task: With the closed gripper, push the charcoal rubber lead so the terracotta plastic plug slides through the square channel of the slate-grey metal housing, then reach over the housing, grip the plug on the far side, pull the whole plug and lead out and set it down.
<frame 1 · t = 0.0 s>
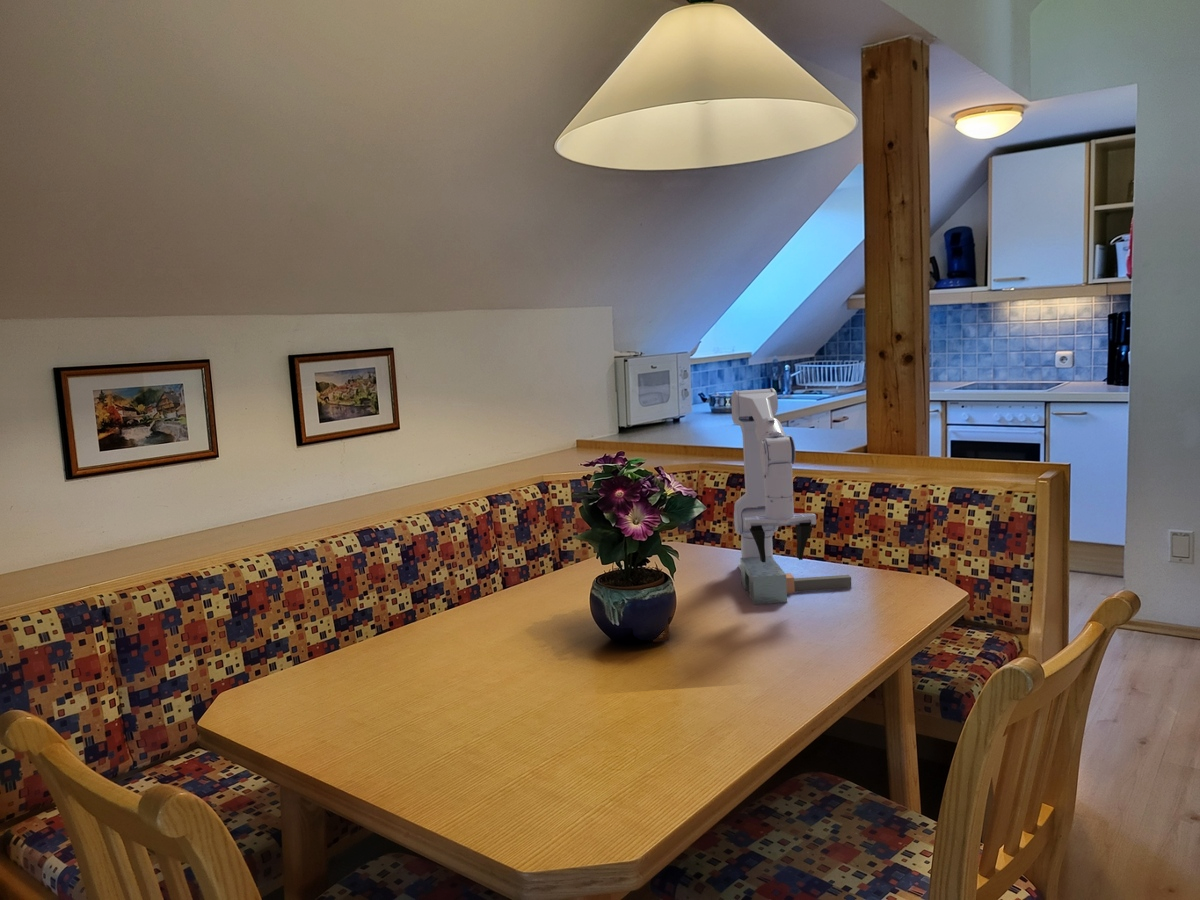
hand: (781, 559, 191), 10 cm above the table, tool pointing down, fingers open, 7 cm apart
housing: (763, 592, 203), on the table
plug: (781, 591, 203), on the table
food container: (643, 637, 180), on the table
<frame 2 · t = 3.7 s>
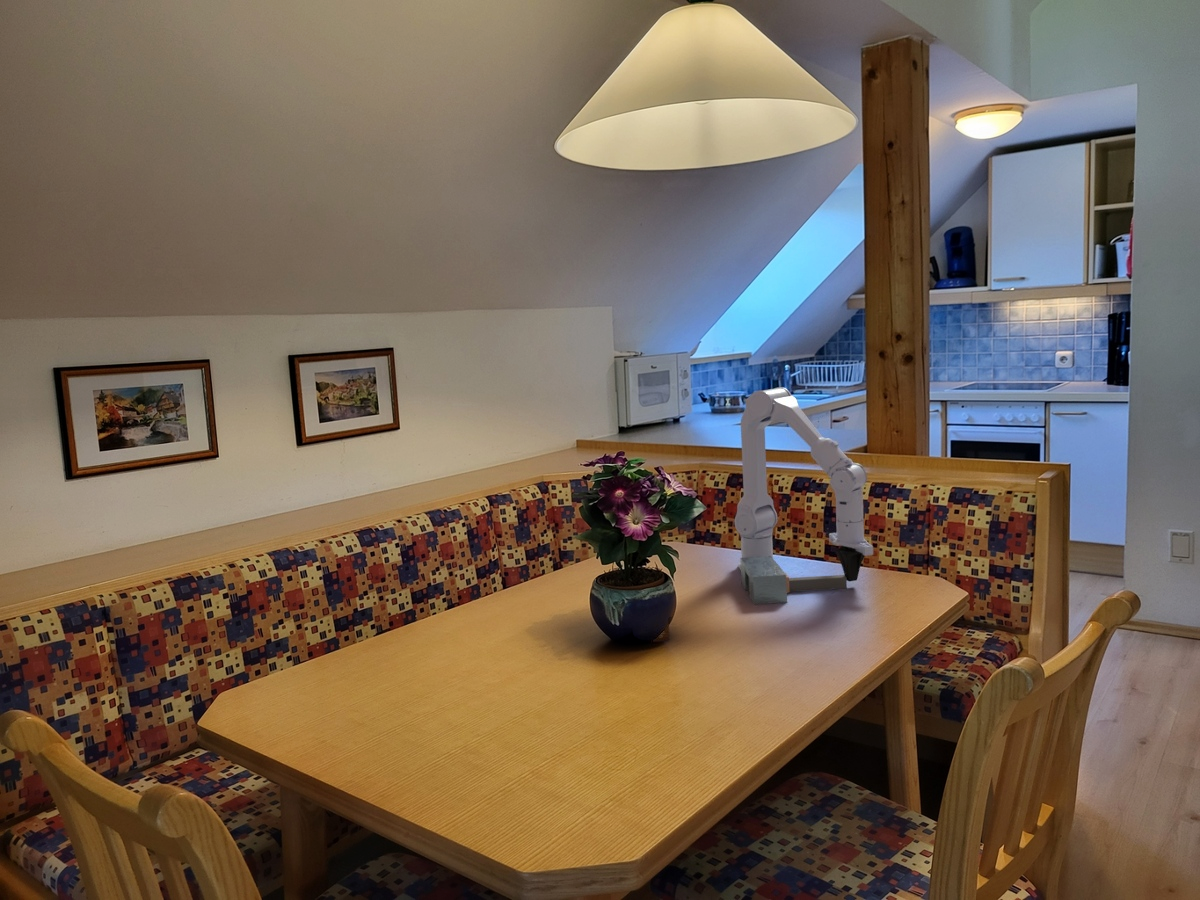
hand: (851, 580, 203), 1 cm above the table, tool pointing down, fingers closed
plug: (776, 591, 204), on the table, touching gripper
everything else where it was.
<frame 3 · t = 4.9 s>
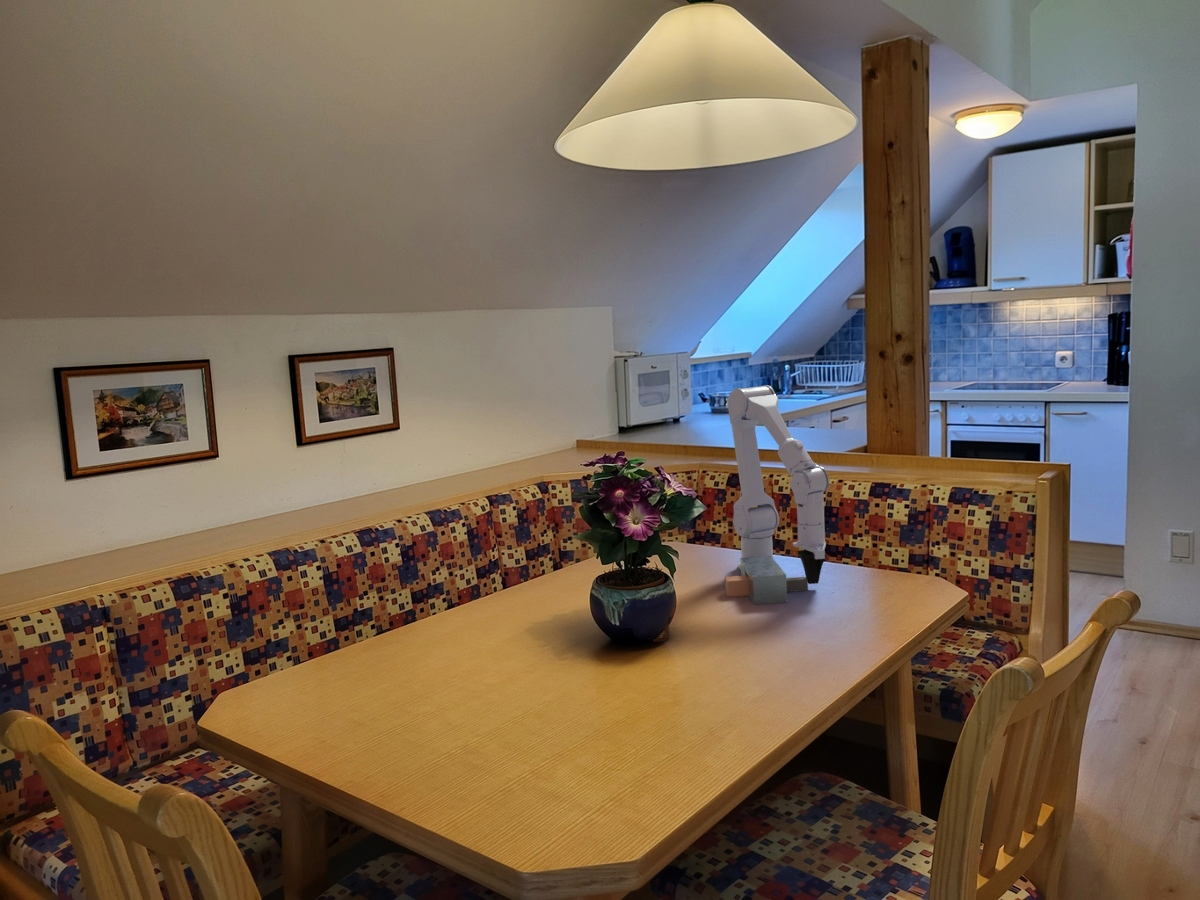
hand: (812, 582, 203), 1 cm above the table, tool pointing down, fingers closed, pressing on plug
plug: (738, 593, 204), on the table, touching gripper
everything else where it was.
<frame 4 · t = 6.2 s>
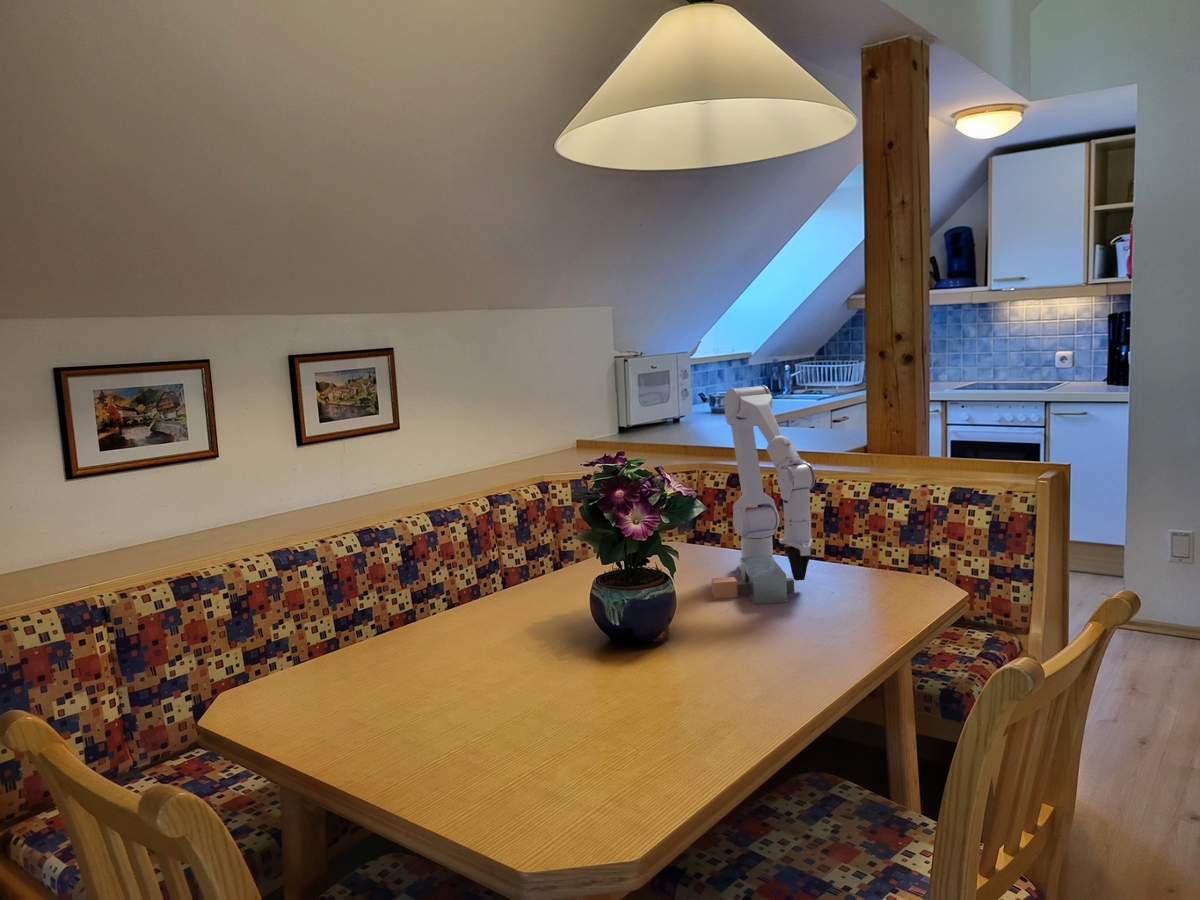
hand: (799, 579, 203), 2 cm above the table, tool pointing down, fingers closed
plug: (724, 595, 203), on the table
everything else where it was.
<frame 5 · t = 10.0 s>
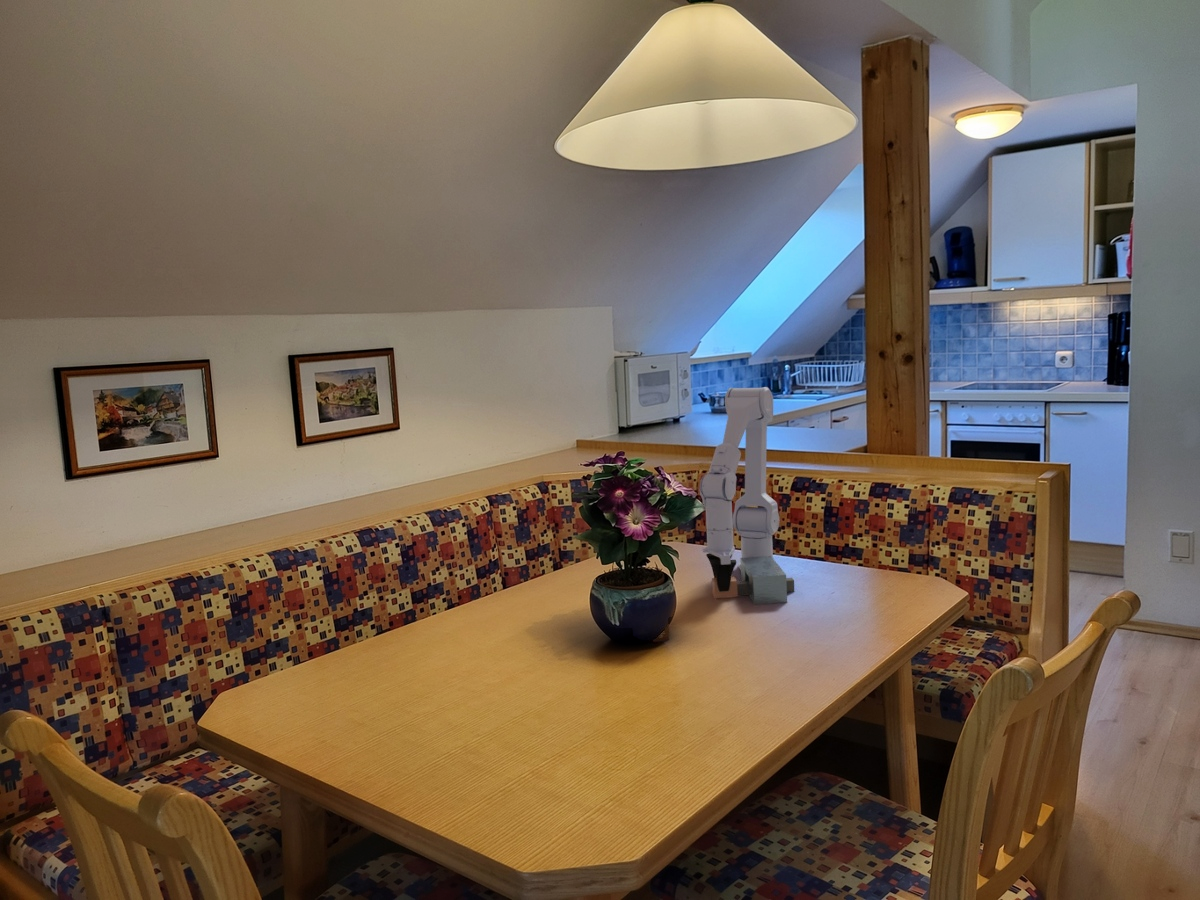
hand: (722, 588, 203), 2 cm above the table, tool pointing down, fingers closed on plug, 4 cm apart
plug: (724, 595, 203), on the table, touching gripper
everything else where it was.
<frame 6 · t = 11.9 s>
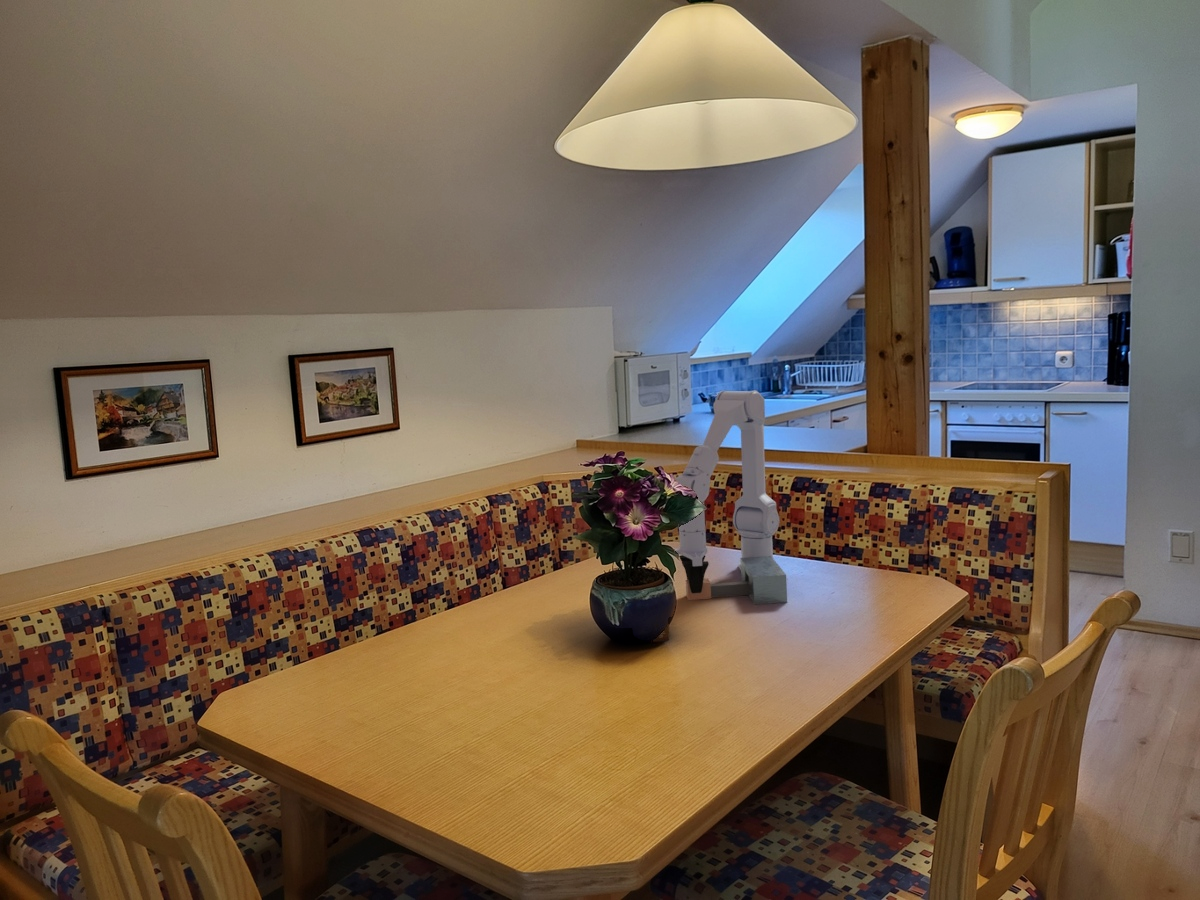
hand: (695, 589, 203), 2 cm above the table, tool pointing down, fingers closed on plug, 4 cm apart
plug: (698, 596, 203), on the table, touching gripper
everything else where it was.
when the fingers open (2 cm above the table, at t = 13.6 s): plug stays where it is, on the table.
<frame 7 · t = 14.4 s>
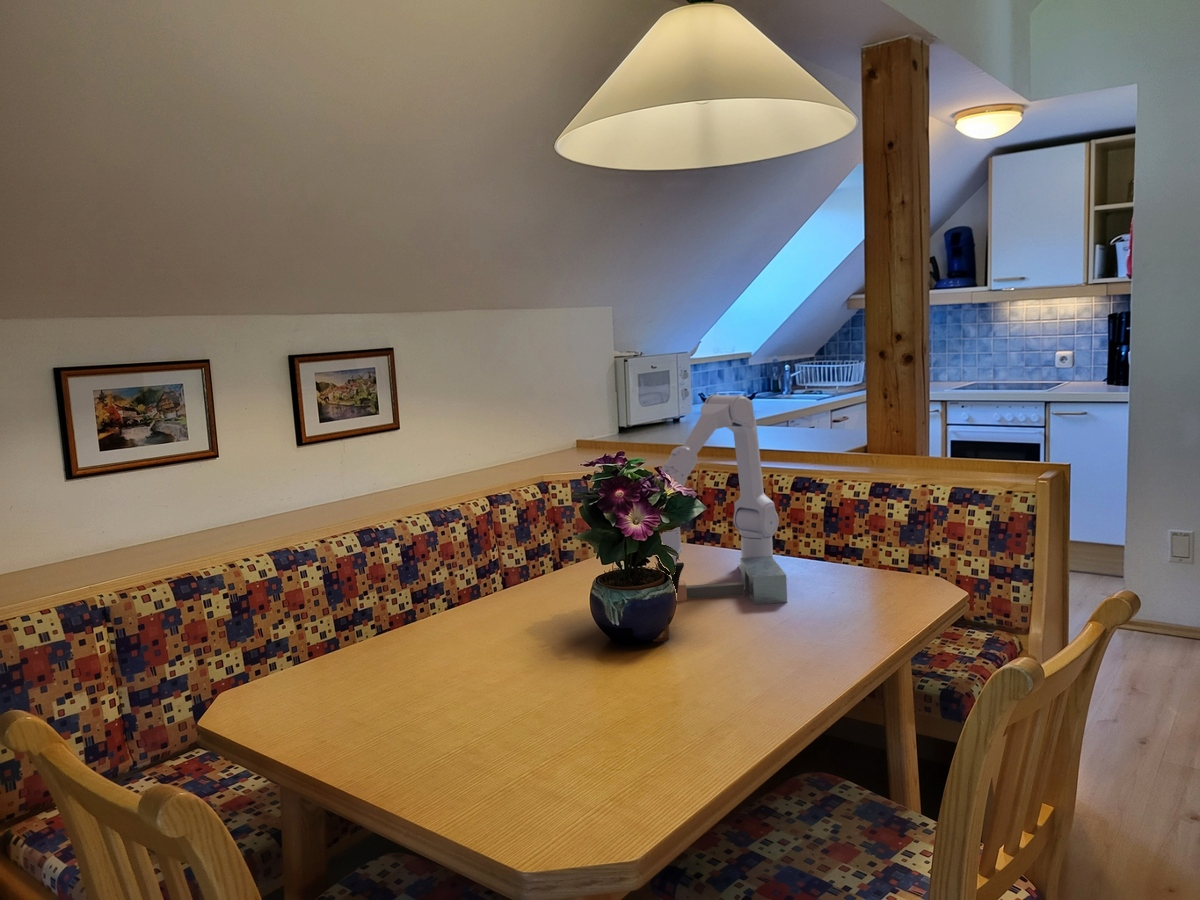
hand: (670, 589, 203), 2 cm above the table, tool pointing down, fingers open, 7 cm apart
plug: (674, 598, 203), on the table
everything else where it was.
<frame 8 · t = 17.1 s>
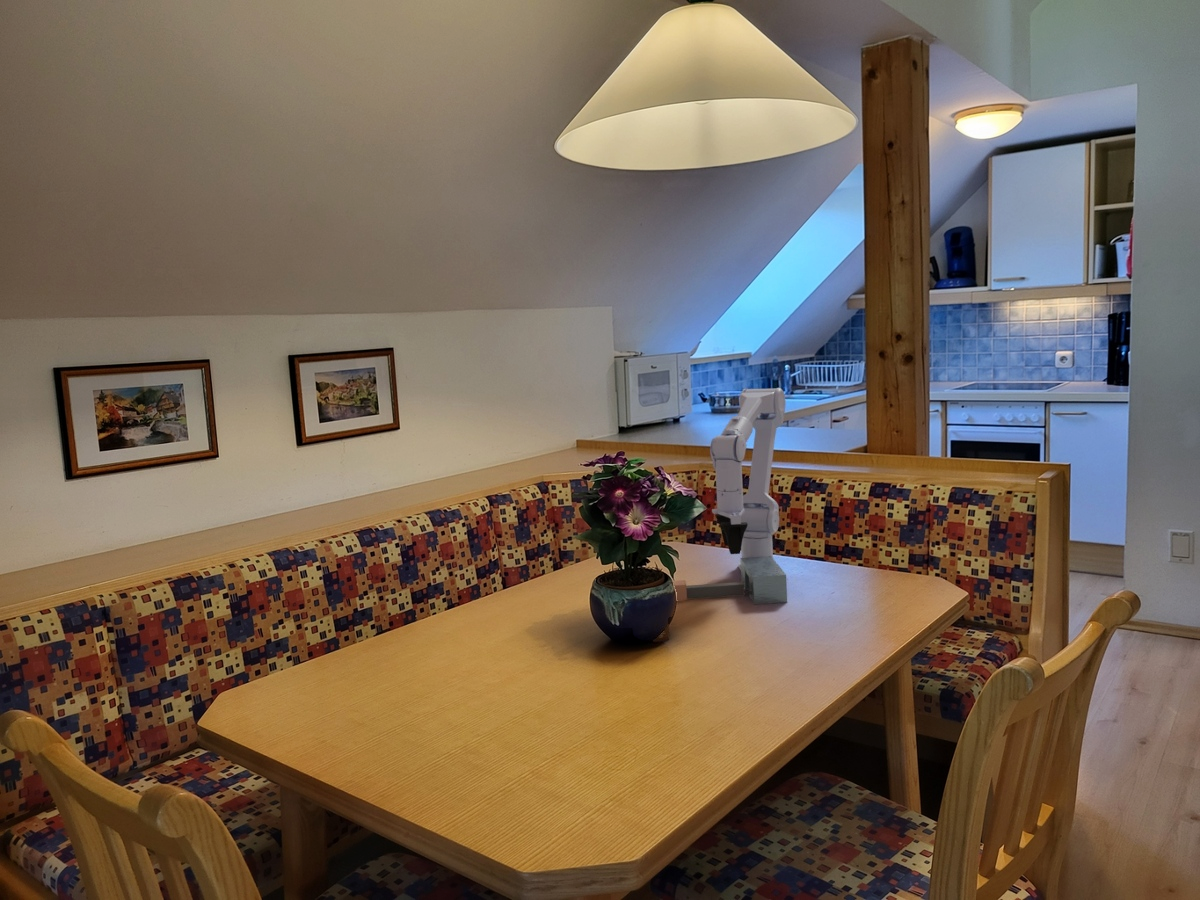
hand: (732, 549, 205), 9 cm above the table, tool pointing down, fingers open, 7 cm apart
nothing on the table moved.
at the end: plug inside the target area (1.6 cm from its centre), on the table; plug touching table; the gripper is holding nothing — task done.
